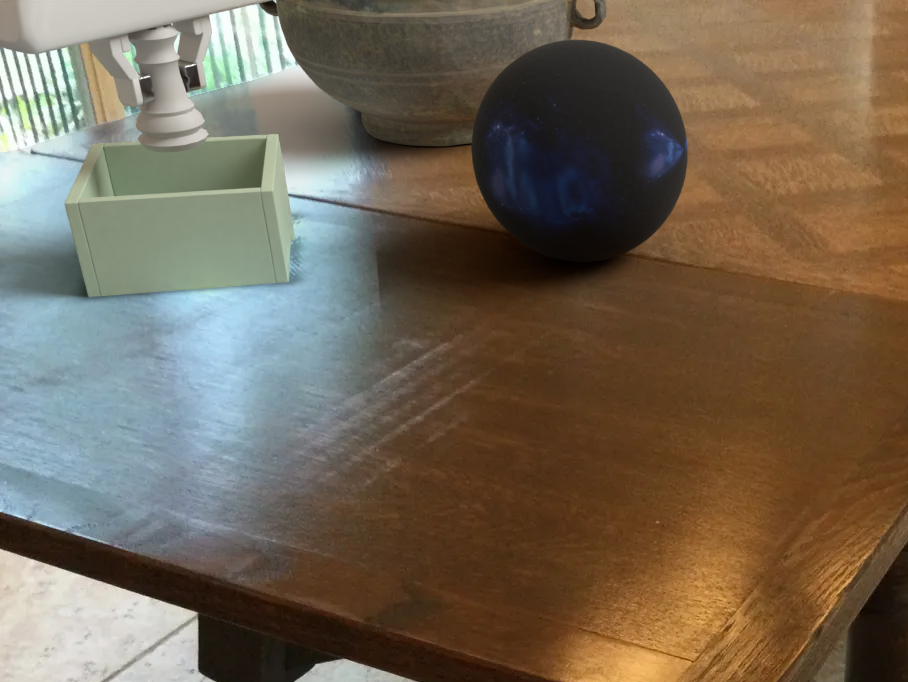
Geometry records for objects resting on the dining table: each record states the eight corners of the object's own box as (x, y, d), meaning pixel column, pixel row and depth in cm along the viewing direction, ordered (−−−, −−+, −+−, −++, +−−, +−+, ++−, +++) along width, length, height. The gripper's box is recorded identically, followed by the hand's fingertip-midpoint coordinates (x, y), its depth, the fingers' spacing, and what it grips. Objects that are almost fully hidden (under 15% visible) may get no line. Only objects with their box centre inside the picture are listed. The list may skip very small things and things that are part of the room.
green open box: (92, 315, 88) (63, 203, 84) (116, 246, 99) (91, 143, 94) (291, 300, 91) (273, 190, 87) (294, 234, 101) (278, 133, 97)
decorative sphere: (459, 290, 93) (437, 67, 85) (504, 215, 105) (489, 14, 97) (677, 299, 92) (676, 75, 84) (695, 223, 105) (697, 21, 96)
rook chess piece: (130, 141, 90) (101, 15, 86) (196, 130, 92) (172, 7, 88) (152, 158, 87) (123, 29, 83) (219, 146, 89) (195, 20, 85)
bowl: (213, 155, 116) (178, -29, 108) (329, 78, 138) (307, -80, 130) (577, 179, 113) (569, -10, 105) (637, 96, 135) (634, -66, 126)
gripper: (215, -158, 89) (252, 57, 97) (-75, -125, 75) (-6, 125, 82) (283, -151, 87) (315, 70, 94) (-4, -115, 72) (61, 143, 80)
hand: (164, 96), depth 88 cm, fingers closed on rook chess piece, 3 cm apart
